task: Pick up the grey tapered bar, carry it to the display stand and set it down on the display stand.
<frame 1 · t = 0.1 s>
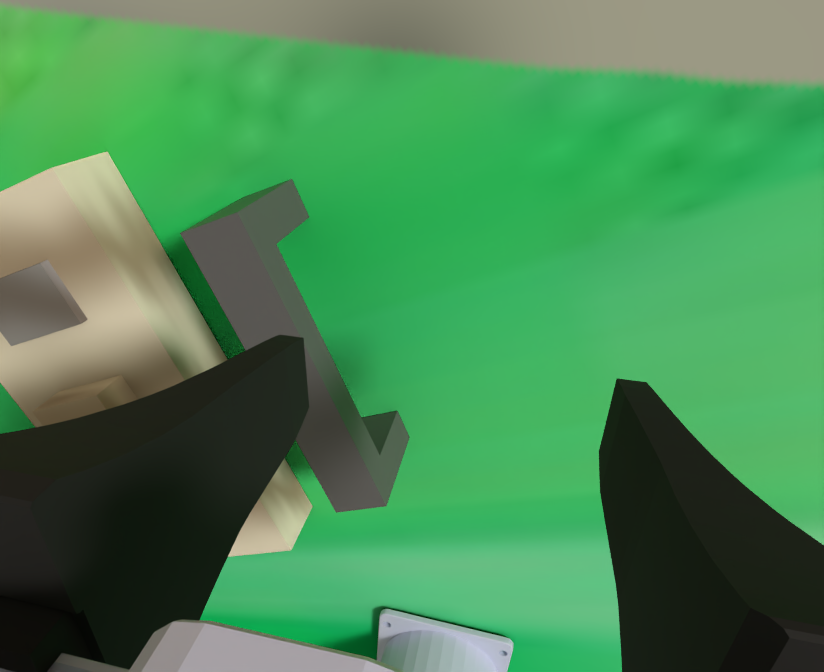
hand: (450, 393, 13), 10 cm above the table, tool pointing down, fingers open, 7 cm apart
display stand: (147, 374, 29), on the table
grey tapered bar: (333, 327, 25), on the table
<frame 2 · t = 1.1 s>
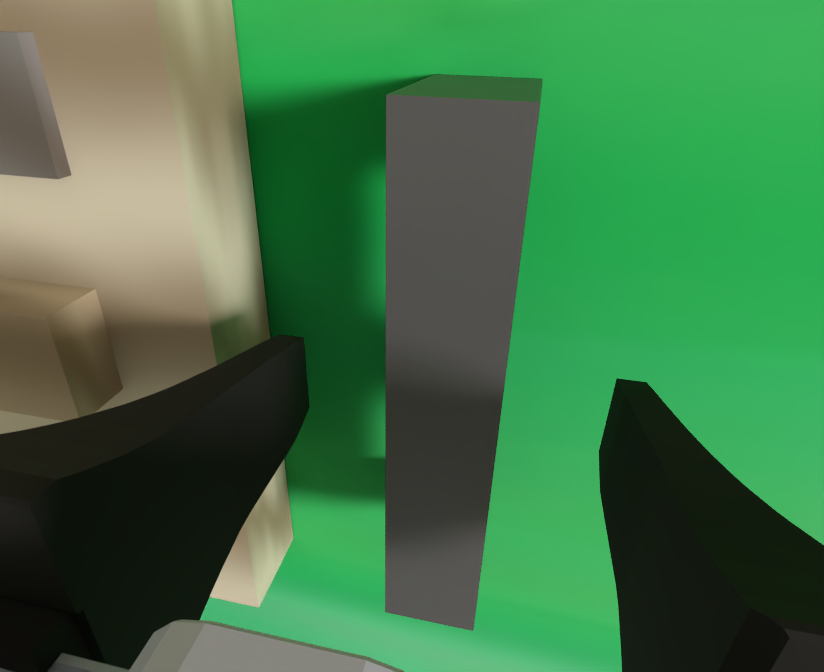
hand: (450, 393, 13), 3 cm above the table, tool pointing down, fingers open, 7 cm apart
display stand: (117, 287, 17), on the table
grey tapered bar: (466, 331, 16), on the table
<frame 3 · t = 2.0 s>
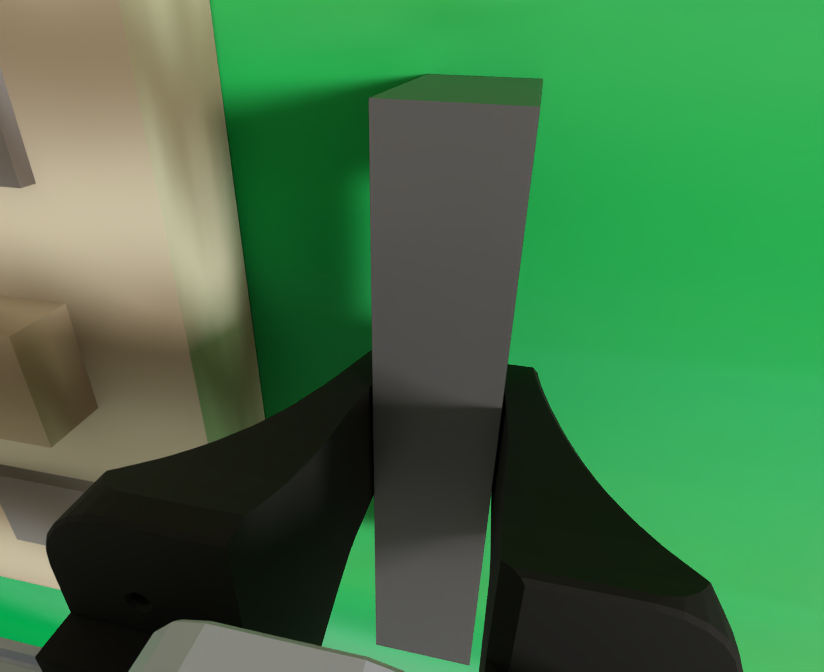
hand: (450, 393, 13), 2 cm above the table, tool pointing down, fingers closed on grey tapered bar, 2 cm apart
display stand: (95, 298, 17), on the table
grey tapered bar: (462, 346, 15), on the table, touching gripper
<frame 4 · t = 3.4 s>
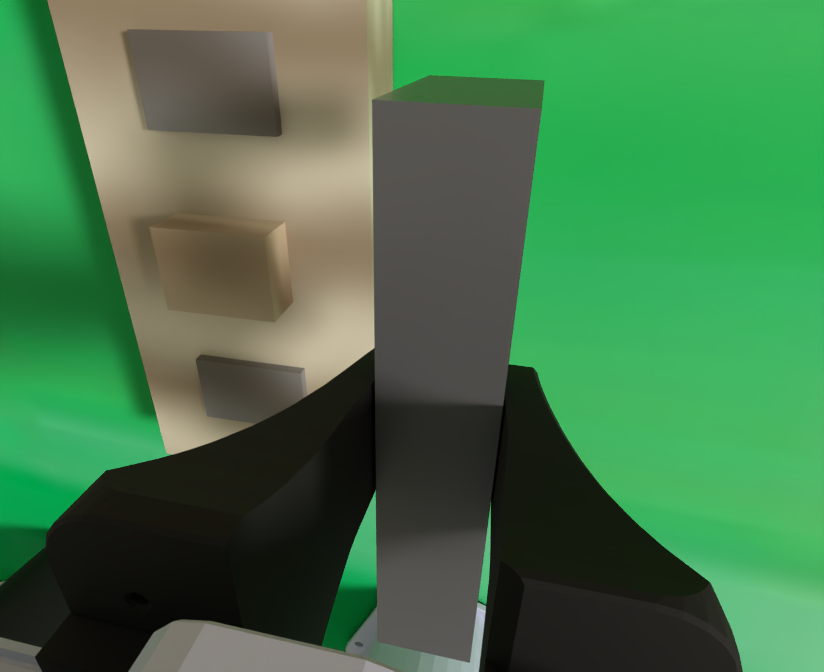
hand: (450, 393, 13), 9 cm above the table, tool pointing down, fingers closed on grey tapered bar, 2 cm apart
dixie cup: (94, 556, 37), on the table
display stand: (272, 231, 22), on the table
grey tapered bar: (464, 345, 15), point 7 cm above the table, touching gripper
when the fingers open (7 cm above the table, at t = 4.6 s): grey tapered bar stays where it is, resting on display stand.
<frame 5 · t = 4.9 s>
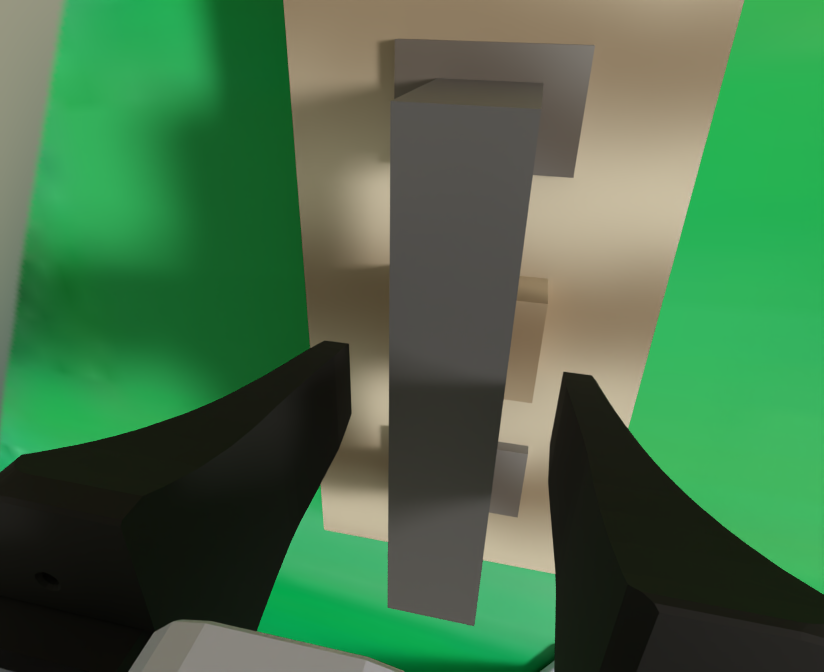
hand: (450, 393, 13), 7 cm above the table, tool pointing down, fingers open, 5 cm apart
display stand: (480, 278, 19), on the table
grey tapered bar: (468, 330, 16), point 3 cm above the table, touching display stand
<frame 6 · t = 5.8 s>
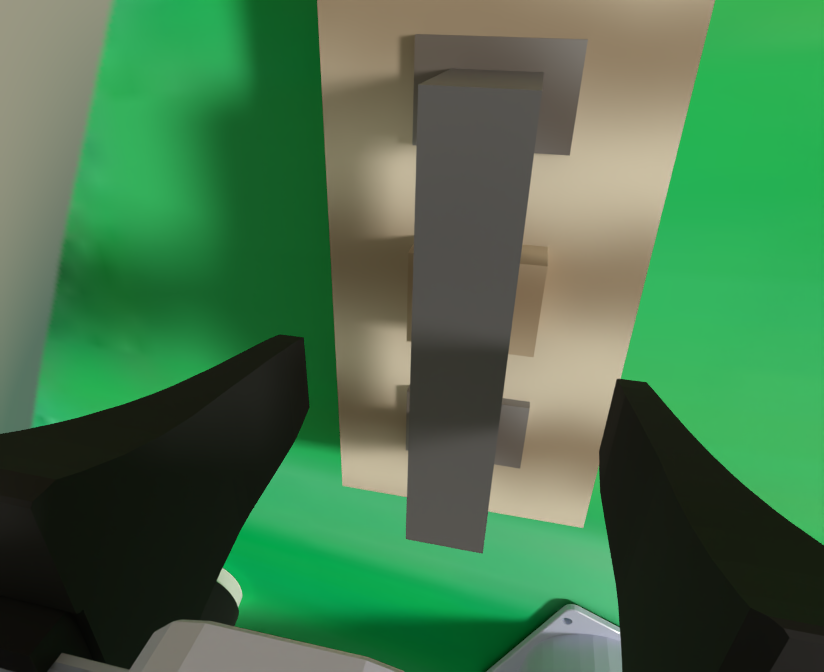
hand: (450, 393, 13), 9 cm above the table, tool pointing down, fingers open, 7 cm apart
dixie cup: (208, 581, 35), on the table
display stand: (486, 252, 21), on the table
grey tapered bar: (476, 294, 18), point 3 cm above the table, touching display stand
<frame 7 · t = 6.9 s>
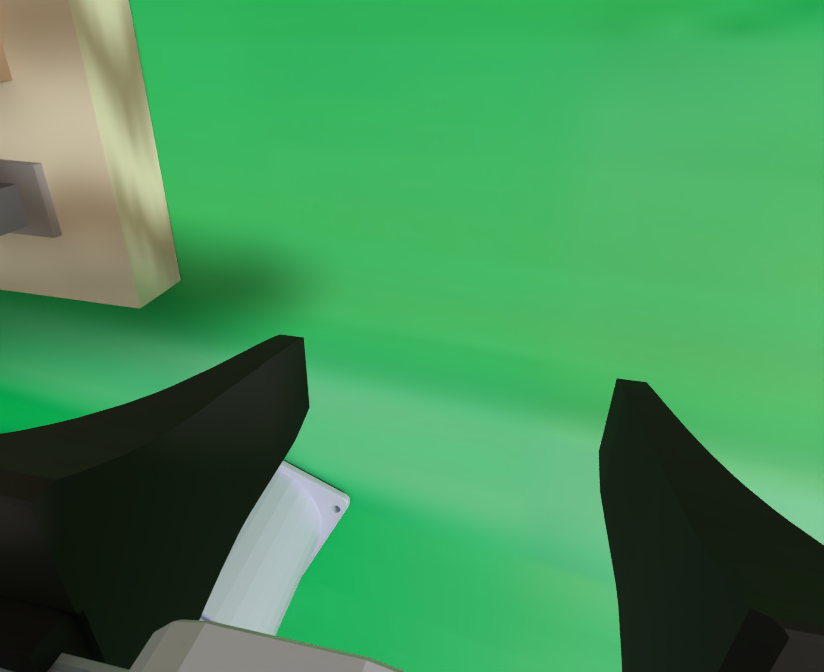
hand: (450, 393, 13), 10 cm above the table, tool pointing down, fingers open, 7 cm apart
display stand: (19, 28, 22), on the table
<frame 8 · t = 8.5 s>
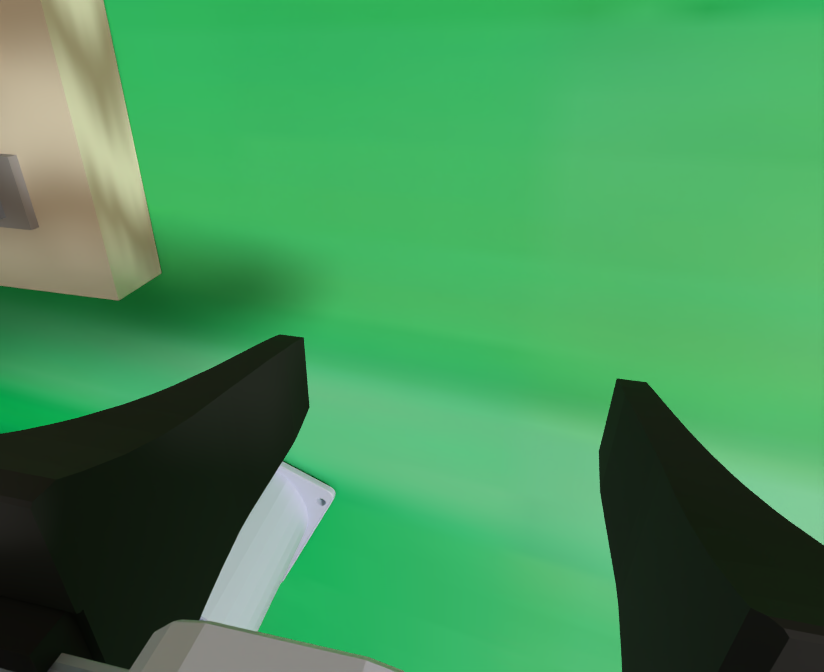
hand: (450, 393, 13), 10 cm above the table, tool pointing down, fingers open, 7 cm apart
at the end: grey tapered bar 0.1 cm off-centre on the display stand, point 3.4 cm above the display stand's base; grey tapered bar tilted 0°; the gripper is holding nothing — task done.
